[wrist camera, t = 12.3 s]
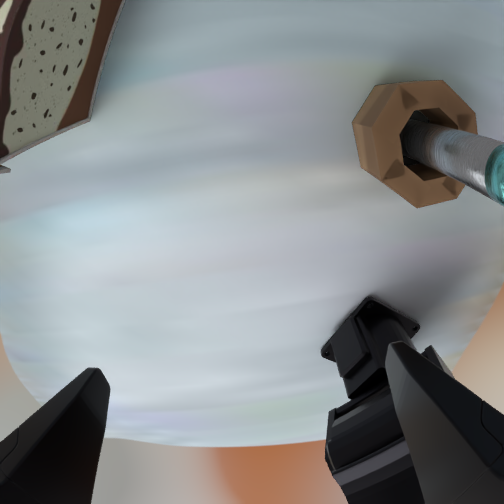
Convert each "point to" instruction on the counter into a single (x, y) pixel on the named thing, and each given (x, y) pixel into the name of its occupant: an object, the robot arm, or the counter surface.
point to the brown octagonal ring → (388, 140)
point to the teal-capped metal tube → (457, 155)
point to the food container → (50, 67)
